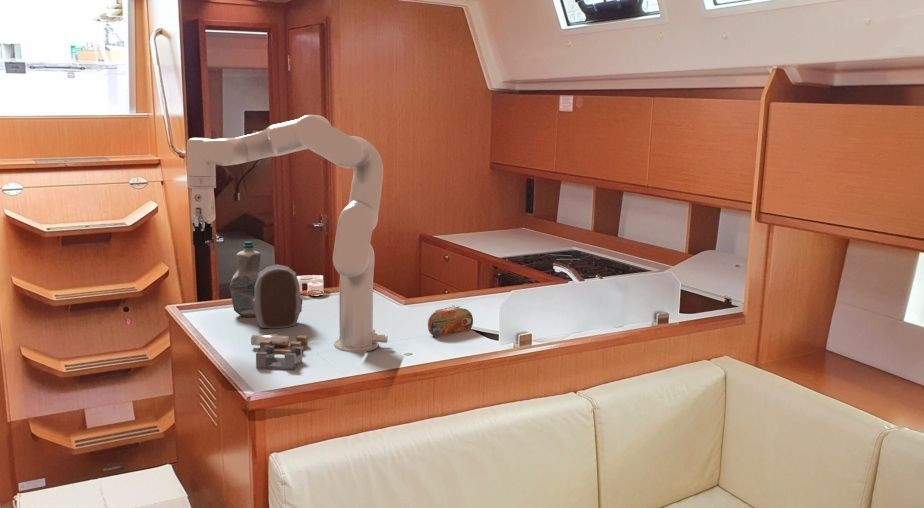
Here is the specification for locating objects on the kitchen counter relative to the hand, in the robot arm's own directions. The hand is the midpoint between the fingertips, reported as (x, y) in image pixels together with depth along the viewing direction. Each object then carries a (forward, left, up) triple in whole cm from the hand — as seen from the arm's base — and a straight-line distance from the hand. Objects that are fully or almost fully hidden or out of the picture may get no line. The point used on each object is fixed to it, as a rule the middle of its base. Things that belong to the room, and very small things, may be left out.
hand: (203, 242), depth 216 cm
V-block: (-28, +20, -29) cm, 45 cm away
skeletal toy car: (-11, -57, -29) cm, 65 cm away
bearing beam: (-25, +6, -29) cm, 38 cm away
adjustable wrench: (-65, -28, -28) cm, 76 cm away
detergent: (-4, -27, -29) cm, 40 cm away
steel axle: (-21, +6, -26) cm, 34 cm away
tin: (-70, -15, -29) cm, 77 cm away
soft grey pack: (-16, -17, -29) cm, 37 cm away
